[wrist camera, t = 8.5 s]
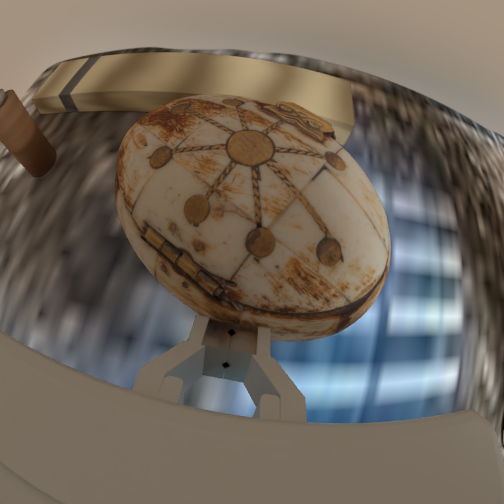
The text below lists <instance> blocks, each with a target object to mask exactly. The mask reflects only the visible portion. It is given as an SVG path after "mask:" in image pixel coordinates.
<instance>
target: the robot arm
mask: <svg viewBox="0 0 504 504" xmlns="http://www.w3.org/2000/svg"><path fill="white" fill-rule="evenodd" d="M270 353H271V329H270V328H266V327H260V326H253V325H247V324H241V323H235V322H230V321H226V320H221V319H217V318H212V317H207V316H203V315H199V314H197V316H196V318H195V321H194V324H193V327H192V330H191V333H190V335H189V338H188V341H183V342H181V343H180V344H178V345H176V346H175V347H173V348H172V349H170V350H168V351H167V352H165V353H164V354H162V355H160V356H159V357H157V358H155V359H154V360H152V361H150V362H149V363H147V364H145V365H144V366H142V367H141V369H140V371H139V374H138V376H137V378H136V381H135V383H134V385H133V387H132V390H129V389H126V388H123V387H120V386H117V385H114V384H111V383H108V382H106V381H103V380H100V379H98V378H95V377H93V376H90V375H88V374H85V373H83V372H80V371H78V370H76V369H73V368H71V367H69V366H67V365H64V364H62V363H60V362H58V361H56V360H54V359H52V358H50V357H48V356H46V355H44V354H42V353H40V352H38V351H36V350H34V349H32V348H30V347H28V346H27V345H25V344H23V343H21V342H19V341H18V340H16V339H14V338H12V337H11V336H9V335H7V334H6V333H4V332H2V331H1V330H0V504H504V459H503V455H502V452H501V448H500V445H499V441H498V438H497V435H496V433H495V431H494V428H493V427H492V425H491V424H490V423H489V422H488V421H487V420H486V419H485V418H484V417H482V416H481V415H480V414H479V413H478V412H476V411H475V410H472V409H469V410H463V411H459V412H454V413H449V414H443V415H438V416H432V417H425V418H418V419H409V420H400V421H389V422H374V423H307V418H306V403H305V397H304V396H303V394H302V393H301V392H300V390H299V389H298V388H297V387H296V385H295V384H294V383H293V382H292V380H291V379H290V378H289V377H288V375H287V374H286V373H285V371H284V370H283V369H282V368H281V366H280V365H279V364H278V362H277V361H276V360H275V358H272V357H270ZM202 375H206V376H211V377H217V378H223V376H224V378H223V379H228V380H233V381H238V382H243V383H244V385H245V387H246V389H247V391H248V393H249V394H250V396H251V398H252V400H253V402H254V404H255V406H256V407H257V408H256V410H255V413H254V415H253V417H252V418H251V417H244V416H237V415H231V414H225V413H219V412H214V411H209V410H204V409H199V408H194V407H190V406H186V405H183V393H184V392H185V391H186V390H187V389H188V388H189V387H190V386H192V385H193V384H194V383H195V382H196V381H197V380H198V379H199V378H201V377H202ZM503 443H504V432H503Z"/></svg>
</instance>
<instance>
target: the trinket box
mask: <svg viewBox="0 0 504 504" xmlns="http://www.w3.org/2000/svg"><path fill="white" fill-rule="evenodd" d="M335 140H336V135H335V131H334V129H333V128H332V125H331V124H330V123H329V122H327V121H326V120H324V119H323V118H321V117H319V116H317V115H316V114H314V113H312V112H310V111H309V110H307V109H305V108H303V107H301V106H299V105H297V104H295V103H293V102H283V101H279V102H277V104H276V106H275V105H272V104H269V103H266V102H263V101H259V100H256V99H251V98H247V97H241V96H234V95H224V94H207V95H197V96H190V97H185V98H181V99H177V100H174V101H171V102H168V103H166V104H163V105H161V106H159V107H157V108H155V109H153V110H152V111H150V112H149V113H147V114H146V115H144V116H143V117H142V118H140V119H139V120H138V121H137V122H136V123H135V124H134V125H133V126H132V127H131V128H130V129H129V130H128V132H127V133H126V135H125V137H124V139H123V141H122V143H121V145H120V148H119V151H118V158H117V171H116V178H115V199H116V206H117V211H118V215H119V219H120V222H121V224H122V227H123V230H124V232H125V234H126V237H127V238H128V240H129V242H130V244H131V246H132V247H133V249H134V251H135V252H136V254H137V256H138V257H139V258H140V260H141V261H142V262H143V264H144V265H145V266H146V268H147V269H148V270H149V271H150V273H151V274H152V275H153V276H154V277H155V278H156V279H157V280H158V282H160V283H161V284H162V285H163V286H164V287H165V288H166V289H167V290H168V291H169V292H170V293H172V294H173V295H174V296H175V297H176V298H178V299H179V300H180V301H182V302H183V303H184V304H186V305H187V306H188V307H190V308H191V309H193V310H194V311H196V312H198V313H199V314H201V315H203V316H207V317H212V318H217V319H221V320H226V321H230V322H235V323H241V324H247V325H253V326H260V327H266V328H270V329H271V340H274V341H308V340H315V339H320V338H324V337H328V336H331V335H333V334H336V333H338V332H340V331H342V330H344V329H345V328H347V327H349V326H350V325H351V324H353V323H354V322H356V321H357V320H358V319H359V318H360V317H362V316H363V315H364V314H365V313H366V312H367V310H368V309H369V308H370V307H371V306H372V304H373V303H374V301H375V300H376V298H377V297H378V295H379V293H380V291H381V289H382V287H383V285H384V282H385V279H386V277H387V274H388V269H389V263H390V253H391V245H390V235H389V229H388V221H387V217H386V213H385V210H384V207H383V205H382V202H381V200H380V198H379V196H378V194H377V192H376V190H375V189H374V187H373V185H372V184H371V182H370V180H369V179H368V177H367V176H366V174H365V173H364V171H363V170H362V169H361V167H360V166H359V165H358V164H357V162H356V161H355V160H354V159H353V158H352V157H351V155H350V154H349V153H348V152H347V151H346V150H345V149H344V148H343V147H342V146H341V145H339V144H338V143H337V142H336V141H335Z"/></svg>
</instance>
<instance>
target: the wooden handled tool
mask: <svg viewBox="0 0 504 504" xmlns="http://www.w3.org/2000/svg"><path fill="white" fill-rule="evenodd" d="M0 141H1V142H2V143H3V144H4V145H5V146H6V148H7V149H8V150H9V151H10V152H11V153H12V154H13V155H14V157H15V158H16V159H17V160H18V161H19V162H20V163H21V164H22V165H23V166H24V167H25V169H26V170H27V171H28V172H29V173H30V174H31V175H32V176H33V177H40V176H42V175H44V174H45V173H46V172H48V171H49V169H50V168H51V167H52V165H53V164H54V162H55V159H56V152H55V150H54V149H53V147H52V146H51V145H50V143H49V142H48V141H47V139H46V138H45V136H44V135H43V134H42V132H41V131H40V129H39V128H38V127H37V125H36V124H35V122H34V121H33V119H32V118H31V116H30V115H29V113H28V112H27V110H26V109H25V107H24V106H23V104H22V103H21V101H20V100H19V98H18V97H17V95H16V94H15V92H14V90H8V91H6V92H4V90H3V89H0Z"/></svg>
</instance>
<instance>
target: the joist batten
mask: <svg viewBox="0 0 504 504" xmlns="http://www.w3.org/2000/svg"><path fill="white" fill-rule="evenodd" d="M207 94H224V95H234V96H241V97H247V98H251V99H256V100H259V101H263V102H266V103H269V104H272V105H275V106H276V104H277V102H279V101H283V102H293V103H295V104H297V105H299V106H301V107H303V108H305V109H307V110H309V111H310V112H312V113H314V114H316V115H317V116H319V117H321V118H323V119H324V120H326V121H327V122H329V123H330V124H331V125H332V128H333V129H334V131H335V135H336V140H335V141H336V142H337V143H338V144H341V145H344V144H345V142H346V140H347V139H348V137H349V135H350V133H351V131H352V130H353V128H354V126H355V125H354V112H353V101H352V91H351V82H349V81H346V80H343V79H340V78H337V77H333V76H330V75H326V74H323V73H319V72H315V71H311V70H307V69H303V68H299V67H294V66H290V65H285V64H280V63H275V62H269V61H263V60H257V59H251V58H243V57H235V56H226V55H216V54H202V53H179V52H154V53H131V54H118V55H108V56H99V57H92V58H85V59H79V60H73V61H67V62H62V63H61V64H60V65H59V66H58V68H57V69H56V70H55V71H54V72H53V73H52V74H51V76H50V77H49V78H48V79H47V80H46V82H45V83H44V84H43V85H42V86H41V88H40V89H39V90H38V91H37V93H36V94H35V95H34V97H33V98H32V101H33V103H34V104H35V106H36V108H37V109H38V111H39V112H40V114H50V113H62V112H81V111H138V112H150V111H152V110H153V109H155V108H157V107H159V106H161V105H163V104H166V103H168V102H171V101H174V100H177V99H181V98H185V97H190V96H197V95H207Z"/></svg>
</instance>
